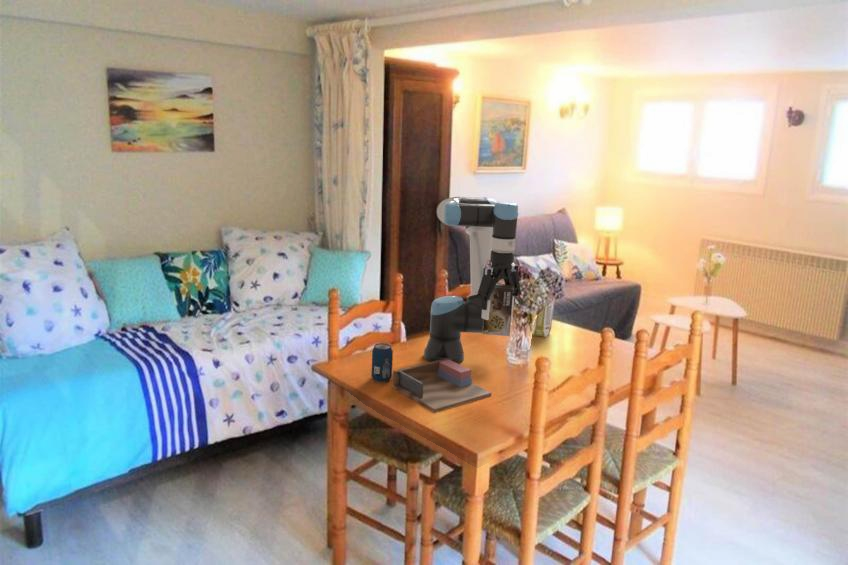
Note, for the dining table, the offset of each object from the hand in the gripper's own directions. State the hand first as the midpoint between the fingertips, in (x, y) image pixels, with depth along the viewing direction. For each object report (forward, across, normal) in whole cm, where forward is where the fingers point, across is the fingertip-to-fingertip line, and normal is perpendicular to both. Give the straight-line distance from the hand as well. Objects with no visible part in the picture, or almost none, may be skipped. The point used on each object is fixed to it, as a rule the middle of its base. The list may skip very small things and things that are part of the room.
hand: (497, 316), depth 209 cm
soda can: (+25, -28, +25) cm, 45 cm away
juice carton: (+25, +60, +31) cm, 72 cm away
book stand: (+25, -17, +6) cm, 31 cm away
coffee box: (+6, 0, 0) cm, 6 cm away
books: (+24, -9, +9) cm, 27 cm away
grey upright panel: (+24, -28, +9) cm, 38 cm away
